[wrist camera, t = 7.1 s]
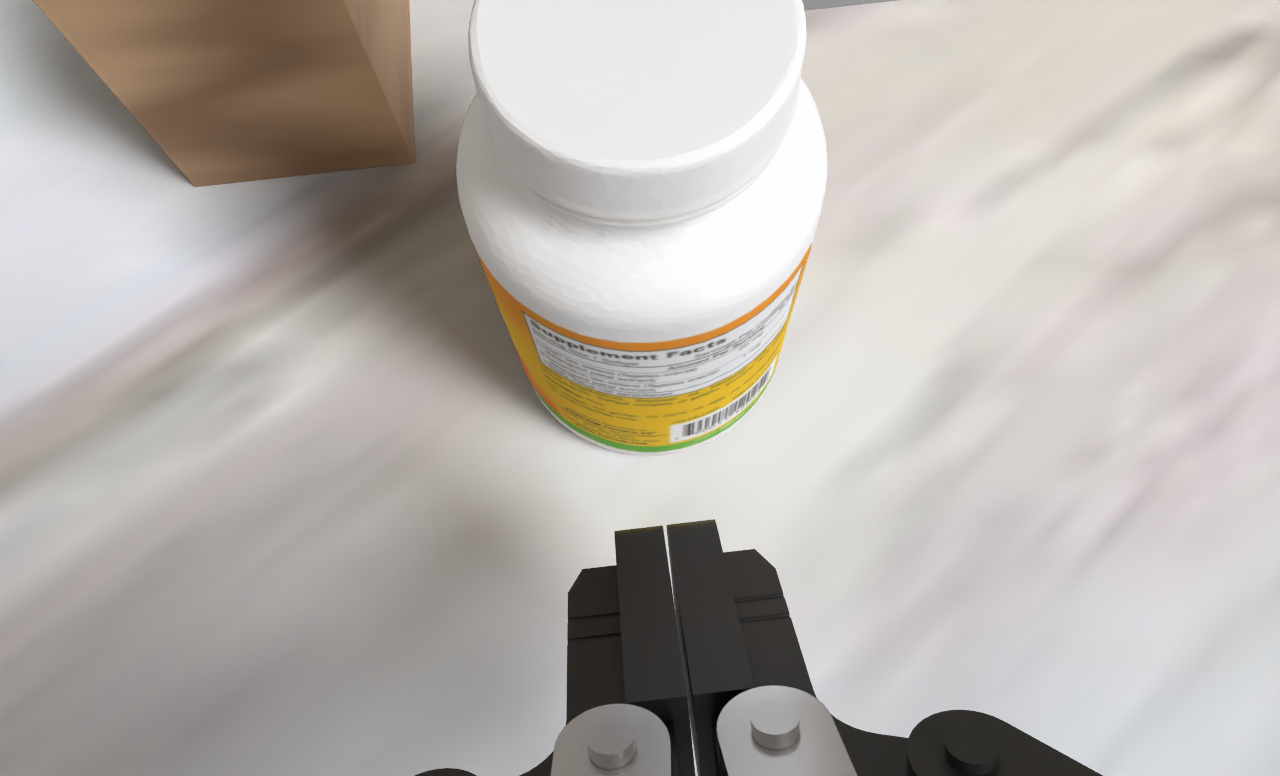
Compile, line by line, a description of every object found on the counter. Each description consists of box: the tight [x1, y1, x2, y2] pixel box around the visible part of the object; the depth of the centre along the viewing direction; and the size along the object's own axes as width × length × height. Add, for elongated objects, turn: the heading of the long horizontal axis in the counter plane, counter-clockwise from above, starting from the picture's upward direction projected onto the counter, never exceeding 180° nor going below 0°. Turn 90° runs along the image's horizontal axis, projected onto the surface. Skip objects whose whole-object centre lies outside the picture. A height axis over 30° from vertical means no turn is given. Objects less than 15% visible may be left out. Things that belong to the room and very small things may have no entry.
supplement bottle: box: [456, 0, 827, 456], centre depth 16 cm, size 5×5×10 cm
